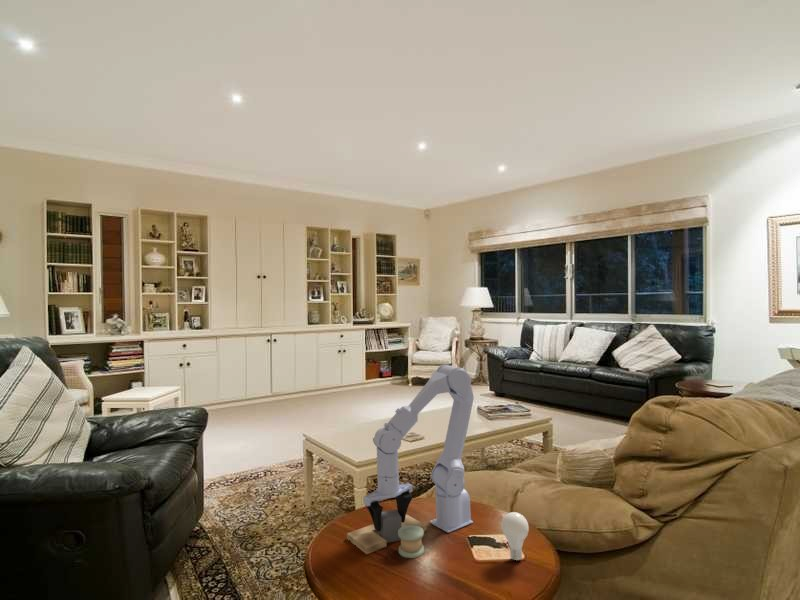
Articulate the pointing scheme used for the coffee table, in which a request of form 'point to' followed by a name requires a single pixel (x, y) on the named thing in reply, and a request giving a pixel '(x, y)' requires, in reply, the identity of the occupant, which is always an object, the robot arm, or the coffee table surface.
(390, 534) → the block
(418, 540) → the bobbin
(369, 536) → the notched board
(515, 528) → the lightbulb
